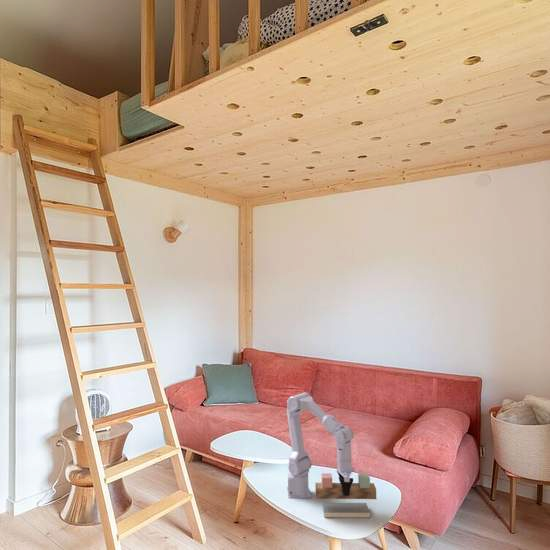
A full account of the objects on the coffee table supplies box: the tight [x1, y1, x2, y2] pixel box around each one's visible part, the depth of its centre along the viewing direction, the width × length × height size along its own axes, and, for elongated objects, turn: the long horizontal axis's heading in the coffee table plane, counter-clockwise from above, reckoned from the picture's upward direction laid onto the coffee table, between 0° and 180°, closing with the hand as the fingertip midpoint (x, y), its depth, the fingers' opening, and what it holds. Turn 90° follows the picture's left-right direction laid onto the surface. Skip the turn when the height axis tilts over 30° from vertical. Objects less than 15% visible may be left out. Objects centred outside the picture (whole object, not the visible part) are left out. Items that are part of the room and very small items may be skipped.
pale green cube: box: [357, 473, 371, 488], centre depth 163 cm, size 4×4×4 cm
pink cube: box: [321, 472, 333, 488], centre depth 164 cm, size 4×4×4 cm
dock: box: [322, 502, 371, 518], centre depth 163 cm, size 18×7×2 cm, turn 88°
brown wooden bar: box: [314, 482, 377, 500], centre depth 163 cm, size 24×5×4 cm, turn 87°
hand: (345, 491), depth 163 cm, fingers closed on brown wooden bar, 5 cm apart
